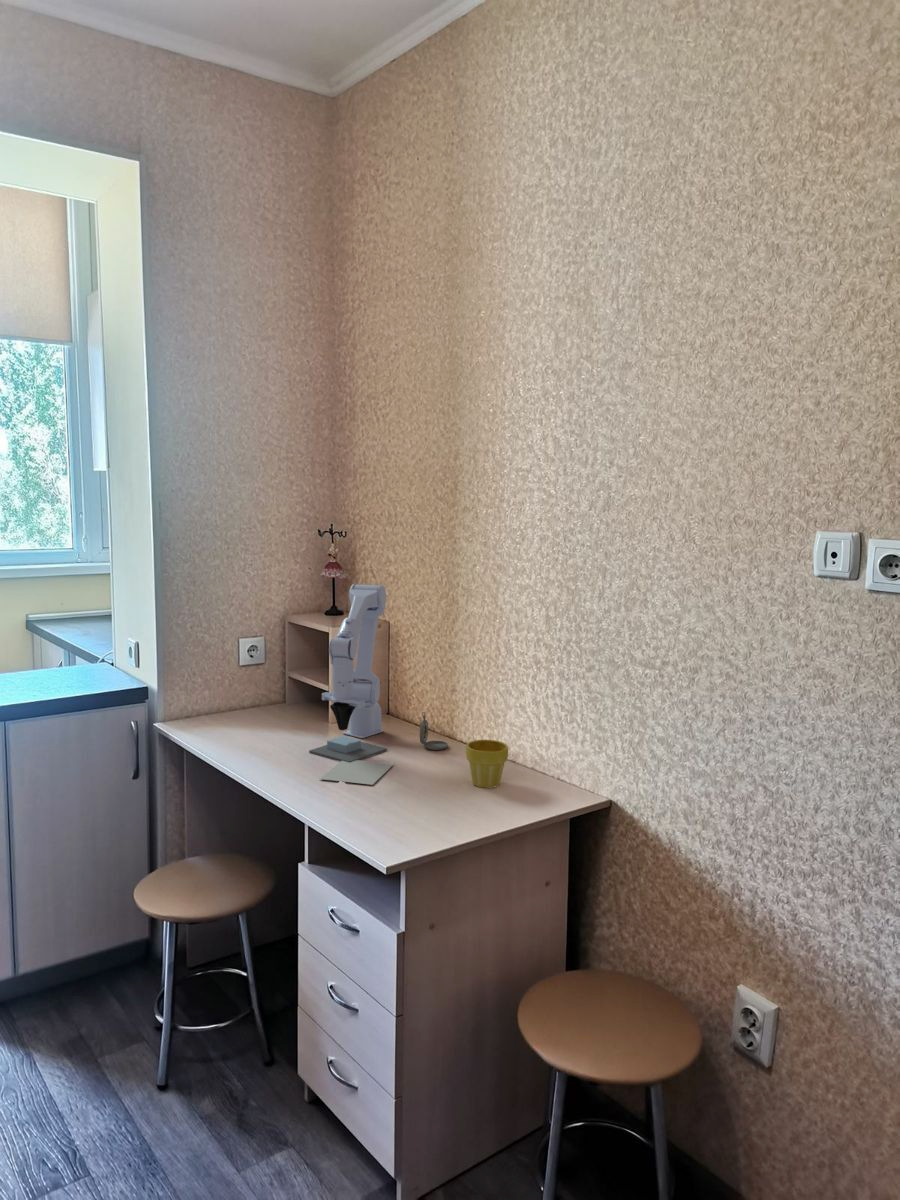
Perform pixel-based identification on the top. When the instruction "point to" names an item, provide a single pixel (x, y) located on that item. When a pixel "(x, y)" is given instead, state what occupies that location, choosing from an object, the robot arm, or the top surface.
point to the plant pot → (486, 761)
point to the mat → (351, 756)
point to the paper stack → (357, 772)
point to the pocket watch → (424, 734)
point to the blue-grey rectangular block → (343, 744)
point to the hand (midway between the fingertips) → (343, 729)
